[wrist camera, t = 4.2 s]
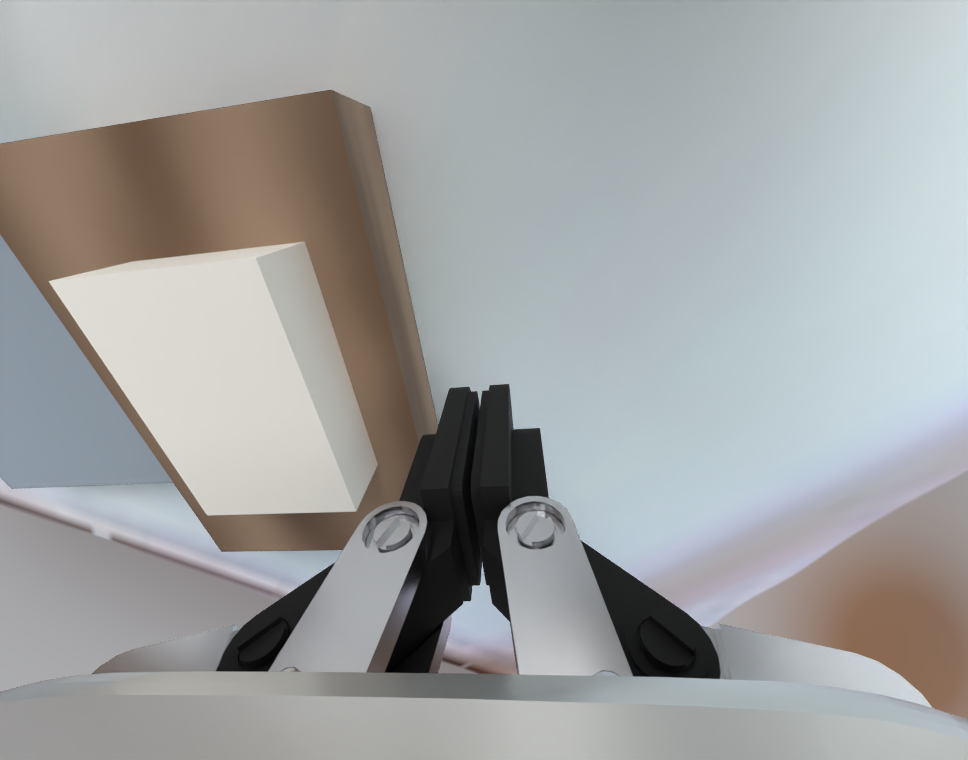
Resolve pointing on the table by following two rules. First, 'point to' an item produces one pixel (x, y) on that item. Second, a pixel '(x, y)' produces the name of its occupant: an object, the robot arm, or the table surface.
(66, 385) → the mat
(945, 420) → the table surface
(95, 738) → the robot arm
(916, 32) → the table surface
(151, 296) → the tile
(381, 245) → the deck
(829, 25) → the table surface
